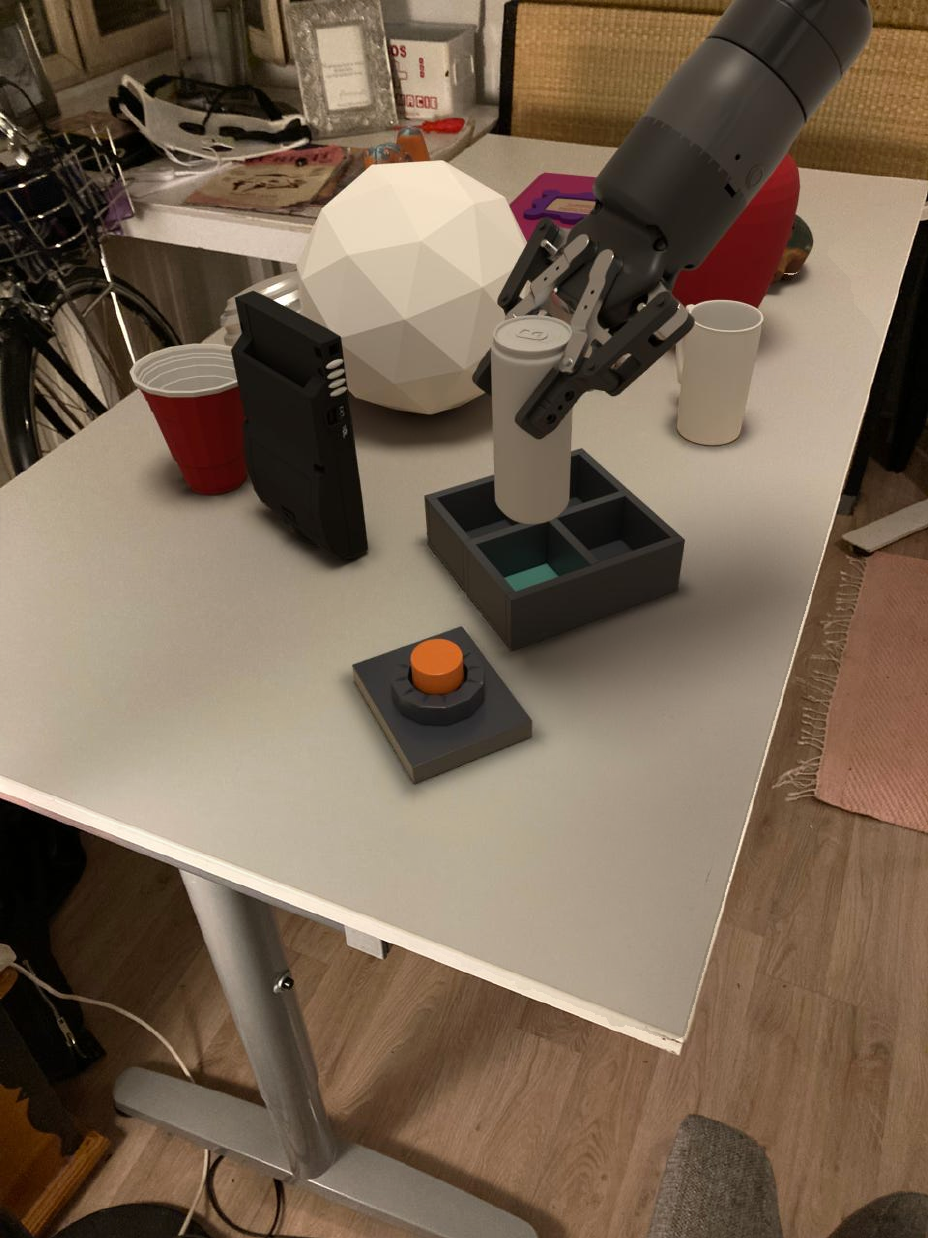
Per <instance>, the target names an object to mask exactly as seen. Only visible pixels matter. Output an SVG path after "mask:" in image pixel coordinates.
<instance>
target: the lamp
mask: <svg viewBox="0 0 928 1238" xmlns="http://www.w3.org/2000/svg"><path fill="white" fill-rule="evenodd" d="M509 205H510V203H508V200H507V199H506V197H505V196H504V195H502V194H500V193H499V192H497V191H495V190H493V189H491V188H490V187H488V186H487V185H485V184H483V183H482V182H480V181H478V180H477V179H475V178H473V177H472V176H470V175H468V174H466V173H465V172H463V171H461V170H460V169H458V168H457V167H455V166H453V165H452V164H450V163H448V162H447V161H444V160H443V159H442V160H430V161H424V162H408V163H393V164H377V165H371V166H370V167H369V168H368V169H366V170H364V171H363V172H361V174H360V175H358V176H357V177H356V178H355V179H354V180H353V181H352V182H350V183H349V184H348V185H347V186H346V187H345V188H343V189H342V190H341V191H340V192H339V193H338V194H337V195H336V196H334V197H333V198H332V199H331V200H329V202H327V203H326V205H324V206H323V207H322V208H321V209H320V211H319V214H318V216H317V218H316V221H315V223H314V225H313V226H312V229H311V231H310V233H309V235H308V237H307V239H306V241H305V242H306V243H305V244H304V246H303V249H302V251H301V252H300V255H299V257H298V259H297V261H296V264H295V266H296V270H293V271H290V272H285V273H281V274H277V275H274V276H272V277H269V278H266V279H264V280H261V281H259V282H257V283H255V284H253V285H251V286H248V287H247V288H245V289H243V290H242V291H240V292H239V293H237V294H235V295H233V296H232V297H230V298H229V299H227V301H226V307H225V309H224V313H223V314H222V315H220V318H219V319H220V321H219V322H220V324H219V325H220V327H223V328H225V331H226V333H225V334H224V335H223V340H224V341H223V342H224V345H225V346H231V347H233V346H234V344H235V343H236V341H237V340H238V338H239V337H240V335H241V334H242V333H241V328H240V323H239V318H238V313H237V308H236V303H235V298H234V297H237V296H240V295H243V294H245V293H248V292H251V291H255V292H258V293H260V294H262V295H264V296H267V297H268V298H270V299H272V300H274V301H276V302H278V303H280V304H282V305H284V306H286V307H288V308H289V309H291V310H293V311H295V312H297V313H299V314H301V315H303V316H305V317H307V318H309V319H310V320H312V321H314V322H316V323H318V324H320V325H322V326H324V327H326V328H328V329H329V330H331V331H333V332H334V333H336V334H338V335H339V336H341V340H342V348H343V356H344V364H345V372H346V379H347V387H348V392H349V393H350V394H351V395H353V397H354V398H356V399H359V400H362V401H366V402H368V403H372V404H376V405H379V406H382V407H385V408H388V409H390V410H394V411H400V412H408V413H416V414H423V415H434V414H438V413H441V412H445V411H449V410H453V409H457V408H460V407H462V406H463V405H465V404H467V403H470V402H471V401H472V400H475V399H477V398H478V397H480V396H482V395H484V394H486V393H485V392H484V391H483V390H481V389H480V388H479V387H478V386H476V385H475V384H474V383H473V381H472V375H473V373H474V372H475V371H476V369H477V367H478V364H479V362H480V361H481V360H482V358H483V357H484V356H485V354H486V353H487V352H488V350H490V348H491V342H492V340H493V331H494V329H495V328H496V326H498V325H499V324H500V323H501V322H504V320H505V317H506V316H505V313H504V311H503V309H502V308H501V307H500V306H498V304H497V299H498V296H499V295H500V293H501V291H502V289H503V287H504V285H505V283H506V281H507V280H508V278H509V276H510V274H511V272H512V270H513V268H514V267H515V265H516V263H517V261H518V259H519V257H520V255H521V253H522V252H523V250H524V248H525V246H526V244H527V241H526V239H525V237H524V235H523V233H522V231H521V229H520V227H519V225H518V223H517V221H516V219H515V217H514V215H513V213H512V211H511V209H510V207H509ZM530 284H531V282H530V281H529V280H527V282H526V284H525V286H524V288H523V290H522V292H521V293H520V295H519V296H520V297H521V298H522V299H524V298H525V297H526V296H527V295H528V294H529V292H530Z"/></svg>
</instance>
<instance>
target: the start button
mask: <svg viewBox="0 0 928 1238" xmlns="http://www.w3.org/2000/svg"><path fill="white" fill-rule="evenodd" d="M410 660H411V670H412V680H413V683H414V685H415V687H416V688H417V689H418V690H420V691H421V692H423V693H425V694H428V695H445V694H448V693H451V692H453V691H455V690H456V689H457V688H458V687H459V686H460V685H461V683H462V682H463V678H464V671H463V654H462V651H461V649H460V648H459V647H458V646H457V645H456V644H455V643H453V642H451V641H448V640H444V639H432V640H428V641H425V642H422V643H420V644H419V645H418V646H416V647H415V648H414V650H413V651H412V653H411V658H410Z"/></svg>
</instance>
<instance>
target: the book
mask: <svg viewBox="0 0 928 1238" xmlns="http://www.w3.org/2000/svg"><path fill="white" fill-rule="evenodd" d="M596 178H597V176H586V175H578V174H577V175H576V174H566V173H557V172H556V173H554V172H543V173H541V174H538V176H537V177H536V178H535V179H534V180H533V181H532V182H531V183H530V184H528V186H526V188H525V189H524V190H523V191H522V192H520V193H519V194H518V196H516V197H515V198H514V199H513V200H512V201H511V202H510V203H509V207H510V209H511V211H512V213H513V215H514V217H515V219H516V221H517V223H518V225H519V227H520V229H521V231H522V233H523V235H524V237H525V239H526V241H527V242H528V240H529V239H530V237H531V235H532V233H533V231H534V229H535V227H536V225H537V224H538V222H539V221H540V220H541V219H543V218H545V217H549V218H551V219H552V220H553V221H554V222H555V223H556V224H557V225H558V226H559V227H562V228H568V229H572V228H573V227H574V226H575V225H576V224H577V223H578V222H580V221H581V220H582V219H584V218H585V217H586V216H587V215H588V214H589V213H590V212H591V211H592V210H593V208H594V207H595V203H596V197H595V196H594V193H593V183H594V181H595V179H596ZM552 292H553V293H554V291H552Z"/></svg>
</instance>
